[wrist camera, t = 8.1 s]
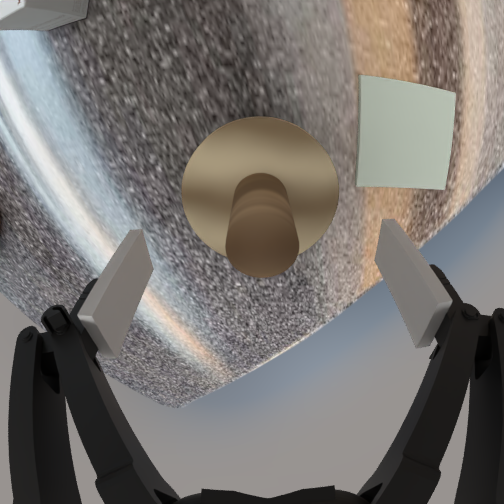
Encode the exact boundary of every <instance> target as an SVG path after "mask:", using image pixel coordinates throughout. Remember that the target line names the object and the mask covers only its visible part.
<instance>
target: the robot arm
mask: <svg viewBox="0 0 504 504" xmlns="http://www.w3.org/2000/svg"><path fill="white" fill-rule="evenodd" d="M374 261H375V262H376V264H377V266H378V268H379V270H380V272H381V274H382V276H383V278H384V280H385V282H386V284H387V286H388V288H389V290H390V292H391V294H392V296H393V298H394V300H395V302H396V304H397V306H398V309H399V311H400V313H401V315H402V317H403V320H404V322H405V324H406V326H407V329H408V331H409V333H410V335H411V338H412V340H413V343H414V345H415V347H416V348H421V347H426V346H430V344H431V342H432V341H433V339H434V337H435V338H436V340H437V343H438V344H437V346H436V347H435V349H434V351H433V352H432V354H431V356H430V358H429V359H431V361H430V363H429V366H428V369H427V371H426V374H425V376H424V379H423V381H422V384H421V386H420V388H419V390H418V393H417V395H416V397H415V399H414V402H413V404H412V406H411V408H410V410H409V412H408V414H407V416H406V418H405V420H404V422H403V424H402V426H401V428H400V430H399V432H398V434H397V436H396V438H395V439H394V441H393V443H392V445H391V447H390V448H389V450H388V452H387V454H386V455H385V457H384V458H383V460H382V462H381V463H380V465H379V467H378V468H377V470H376V471H375V473H374V474H373V475H372V477H370V479H369V480H368V481H367V482H366V483H365V484H364V486H363V487H362V488H361V490H360V491H359V492H358V494H357V495H356V494H353V493H350V492H347V491H342V490H335V487H334V485H333V486H327V487H318V488H309V489H301V490H298V491H295V492H292V493H288V494H285V495H281V496H277V497H273V498H262V497H257V496H252V495H248V494H244V493H240V492H236V491H225V490H210V489H202V492H201V493H198V494H194V495H190V496H187V497H184V498H182V499H180V497H179V496H178V495H177V494H176V492H175V491H174V490H173V489H172V488H171V486H169V484H168V483H167V482H166V481H165V480H164V479H163V478H162V477H161V475H160V474H159V472H158V471H157V470H156V468H155V466H154V465H153V463H152V462H151V460H150V459H149V457H148V455H147V454H146V452H145V451H144V449H143V448H142V446H141V444H140V442H139V441H138V439H137V437H136V436H135V434H134V432H133V431H132V429H131V427H130V425H129V423H128V421H127V420H126V418H125V416H124V414H123V412H122V410H121V408H120V406H119V404H118V402H117V400H116V398H115V396H114V394H113V392H112V390H111V388H110V386H109V384H108V381H107V379H106V377H105V375H104V372H103V370H102V368H101V365H100V363H99V361H98V359H97V358H96V353H97V351H98V350H99V352H100V353H101V355H102V356H103V357H104V358H112V359H117V358H118V356H119V353H120V350H121V348H122V345H123V342H124V340H125V337H126V334H127V332H128V329H129V327H130V324H131V322H132V319H133V317H134V314H135V312H136V309H137V307H138V304H139V302H140V300H141V297H142V295H143V293H144V290H145V288H146V286H147V283H148V281H149V279H150V276H151V274H152V272H153V270H154V269H153V266H152V262H151V259H150V255H149V252H148V249H147V245H146V241H145V238H144V234H143V231H142V229H138V230H130V231H129V232H128V234H127V235H126V237H125V238H124V240H123V241H122V243H121V244H120V246H119V247H118V249H117V250H116V252H115V253H114V255H113V256H112V258H111V259H110V261H109V263H108V264H107V266H106V267H105V269H104V270H103V272H102V274H101V275H100V277H99V278H98V279H93V280H92V281H91V282H90V283H89V284H88V285H87V286H86V288H85V289H84V291H83V294H81V296H80V297H79V300H78V301H77V302H76V304H75V306H74V308H73V309H72V311H71V313H70V314H69V313H68V312H67V310H66V308H65V307H64V306H63V305H54V306H52V307H50V308H49V309H47V310H46V311H45V312H44V314H43V316H42V317H41V322H42V324H43V325H44V327H45V328H46V330H47V331H48V332H45V333H39V331H38V330H37V329H36V327H34V326H29V327H27V328H25V329H23V330H22V331H21V332H20V334H19V335H18V337H17V341H16V347H15V353H14V360H13V367H12V375H11V385H10V398H9V399H10V400H9V420H8V432H9V433H8V439H9V440H8V442H9V463H10V474H11V483H12V491H13V498H14V499H13V504H82V503H81V498H80V494H79V490H78V486H77V481H76V476H75V471H74V467H73V461H72V455H71V448H70V441H69V434H68V426H67V415H66V403H65V396H66V399H67V403H68V405H69V409H70V411H71V414H72V417H73V420H74V423H75V425H76V428H77V430H78V433H79V436H80V438H81V440H82V443H83V446H84V448H85V450H86V452H87V455H88V457H89V459H90V461H91V464H92V466H93V468H94V470H95V472H96V474H97V479H96V481H95V485H96V488H97V490H98V492H99V494H100V496H101V498H102V500H103V502H104V503H105V504H427V503H428V501H429V499H430V498H431V496H432V493H433V492H434V490H435V488H436V486H437V484H438V481H439V479H440V476H441V471H440V470H439V465H440V462H441V460H442V458H443V456H444V454H445V451H446V449H447V446H448V444H449V441H450V439H451V436H452V433H453V431H454V428H455V425H456V422H457V419H458V417H459V413H460V410H461V407H462V404H463V401H464V397H465V394H466V390H467V387H468V383H469V379H470V398H469V415H468V427H467V436H466V444H465V451H464V457H463V463H462V469H461V474H460V479H459V483H458V488H457V493H456V497H455V502H454V504H504V309H503V308H497V309H495V311H494V312H493V314H492V316H487V315H480V313H479V311H478V310H477V309H476V308H475V307H474V306H472V305H470V304H467V303H463V301H462V300H461V299H460V297H459V295H458V294H457V292H456V291H455V289H454V288H453V286H452V285H450V282H449V280H448V279H446V276H445V275H444V273H443V272H442V270H440V269H439V268H438V267H436V266H435V265H429V264H428V263H427V261H426V260H425V259H424V257H423V256H422V254H421V253H420V252H419V250H418V249H417V248H416V246H415V245H414V244H413V242H412V241H411V240H410V238H409V237H408V236H407V234H406V233H405V232H404V231H403V229H402V228H401V227H400V225H399V224H398V223H397V222H396V220H395V219H382V224H381V229H380V235H379V240H378V245H377V250H376V255H375V260H374Z"/></svg>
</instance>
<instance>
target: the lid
mask: <svg viewBox="0 0 504 504" xmlns="http://www.w3.org/2000/svg"><path fill="white" fill-rule="evenodd" d="M181 194H182V203H183V207H184V212H185V214H186V217H187V219H188V222H189V223H190V225H191V227H192V229H193V230H194V231H195V233H196V234H197V235H198V237H199V238H200V239H201V240H202V241H203V242H204V243H205V244H207V245H208V246H209V247H210V248H212V249H213V250H215V251H216V252H218V253H219V254H222V255H224V256H226V257H228V259H229V261H230V263H231V264H232V265H233V266H234V267H235V268H236V269H237V270H238V271H240V272H242V273H244V274H246V275H249V276H252V277H259V278H265V277H272V276H275V275H278V274H280V273H282V272H284V271H286V270H287V269H288V268H289V267H290V266H291V265H292V264H293V263H294V262H295V260H296V258H297V256H298V255H299V254H300V253H302V252H304V251H305V250H307V249H308V248H310V247H311V246H312V245H314V244H315V243H316V242H317V241H318V240H319V239H320V238H321V237H322V235H323V234H324V233H325V232H326V230H327V229H328V227H329V225H330V224H331V222H332V220H333V217H334V215H335V212H336V209H337V205H338V198H339V185H338V178H337V174H336V170H335V167H334V165H333V163H332V161H331V159H330V157H329V155H328V154H327V152H326V151H325V149H324V148H323V147H322V146H321V145H320V144H319V143H318V141H317V140H316V139H315V138H314V137H312V136H311V135H310V134H309V133H308V132H306V131H305V130H303V129H302V128H300V127H299V126H297V125H295V124H293V123H290V122H288V121H285V120H282V119H278V118H273V117H262V116H255V117H247V118H242V119H238V120H235V121H232V122H230V123H227V124H225V125H223V126H222V127H220V128H218V129H216V130H215V131H214V132H213V133H211V134H210V135H209V136H208V137H207V138H206V139H205V140H204V141H203V142H202V143H201V144H200V145H199V146H198V148H197V149H196V150H195V152H194V153H193V155H192V156H191V158H190V160H189V162H188V164H187V166H186V169H185V172H184V175H183V181H182V193H181Z"/></svg>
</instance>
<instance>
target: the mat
mask: <svg viewBox="0 0 504 504" xmlns="http://www.w3.org/2000/svg"><path fill="white" fill-rule="evenodd" d="M358 79H359V108H358V142H357V161H356V175H355V185H356V186H357V187H398V188H422V189H440V190H445V185H446V180H447V174H448V168H449V161H450V154H451V146H452V137H453V127H454V114H455V95H456V93H454V92H450V91H446V90H442V89H438V88H434V87H430V86H426V85H421V84H416V83H411V82H406V81H401V80H395V79H389V78H382V77H375V76H367V75H358Z"/></svg>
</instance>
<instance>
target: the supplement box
mask: <svg viewBox="0 0 504 504" xmlns="http://www.w3.org/2000/svg"><path fill="white" fill-rule="evenodd" d="M88 2H89V0H0V30H37V31H48V30H51V29H54V28H56V27H59V26H62V25H65V24H68V23H71V22H74V21H77V20H81V19H84V18H86V16H87V9H88Z"/></svg>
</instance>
